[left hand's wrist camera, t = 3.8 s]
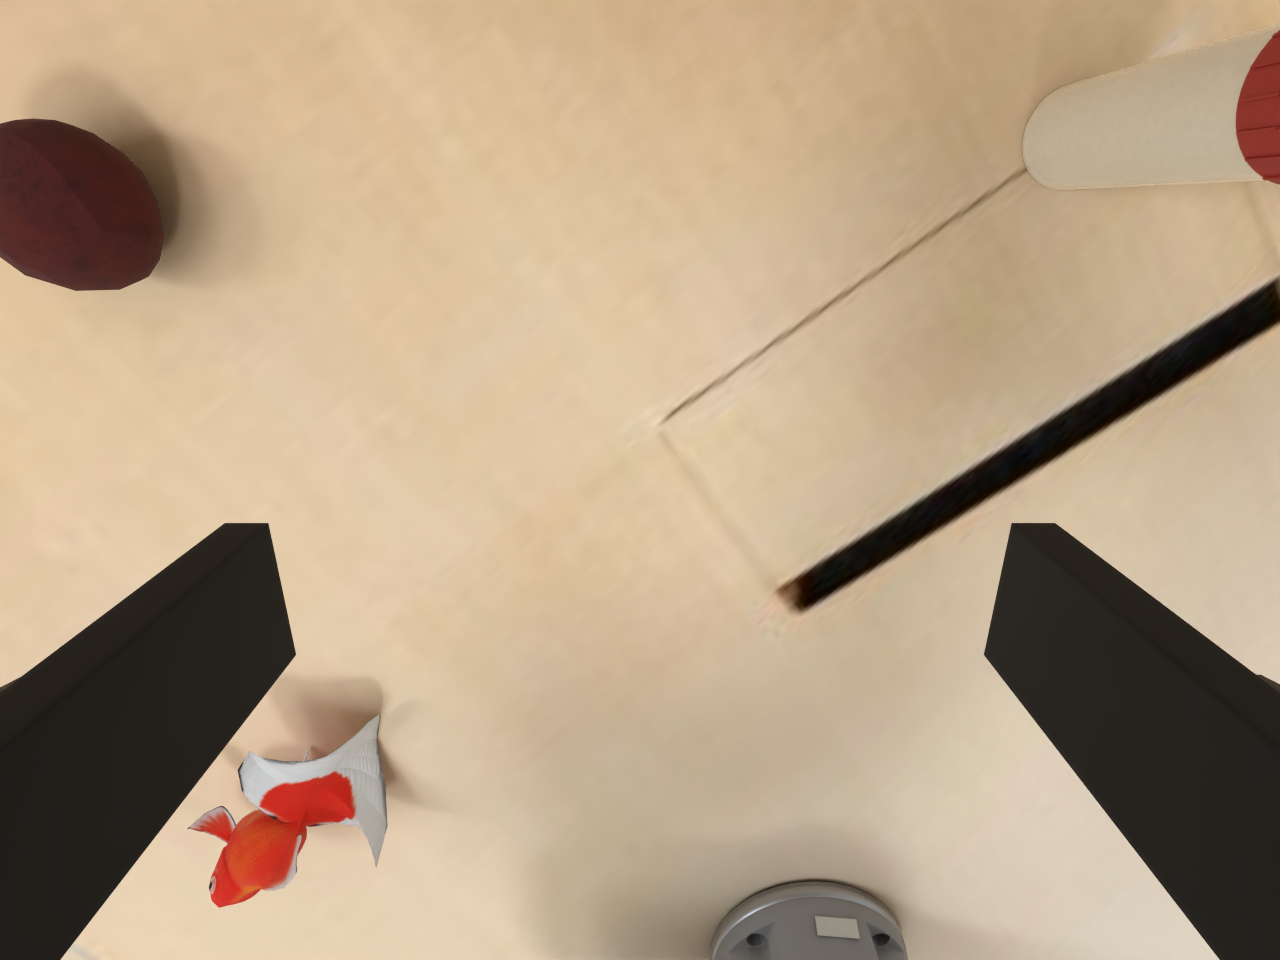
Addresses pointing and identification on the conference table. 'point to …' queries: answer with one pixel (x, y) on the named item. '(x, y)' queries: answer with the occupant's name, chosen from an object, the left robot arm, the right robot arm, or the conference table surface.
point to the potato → (74, 208)
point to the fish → (295, 814)
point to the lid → (1261, 113)
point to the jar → (1148, 122)
